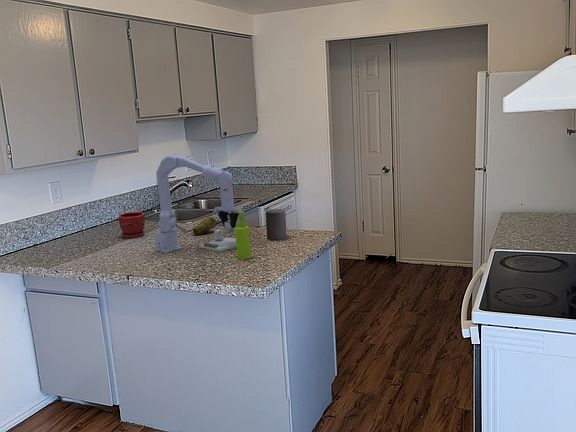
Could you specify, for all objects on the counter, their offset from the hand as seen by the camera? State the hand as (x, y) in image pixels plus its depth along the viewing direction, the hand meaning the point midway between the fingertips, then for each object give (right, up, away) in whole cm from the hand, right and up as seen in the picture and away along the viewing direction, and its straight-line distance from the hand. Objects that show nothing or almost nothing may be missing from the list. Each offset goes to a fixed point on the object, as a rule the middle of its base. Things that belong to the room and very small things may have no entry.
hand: (229, 227), depth 255 cm
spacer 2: (0, -2, 0) cm, 2 cm away
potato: (-16, -4, +34) cm, 38 cm away
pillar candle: (+22, -6, +12) cm, 25 cm away
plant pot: (-54, -6, +37) cm, 66 cm away
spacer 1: (-6, -6, +7) cm, 11 cm away
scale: (-4, -9, +4) cm, 10 cm away
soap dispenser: (+8, -12, -19) cm, 24 cm away
